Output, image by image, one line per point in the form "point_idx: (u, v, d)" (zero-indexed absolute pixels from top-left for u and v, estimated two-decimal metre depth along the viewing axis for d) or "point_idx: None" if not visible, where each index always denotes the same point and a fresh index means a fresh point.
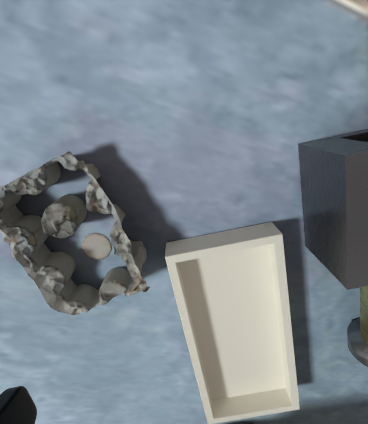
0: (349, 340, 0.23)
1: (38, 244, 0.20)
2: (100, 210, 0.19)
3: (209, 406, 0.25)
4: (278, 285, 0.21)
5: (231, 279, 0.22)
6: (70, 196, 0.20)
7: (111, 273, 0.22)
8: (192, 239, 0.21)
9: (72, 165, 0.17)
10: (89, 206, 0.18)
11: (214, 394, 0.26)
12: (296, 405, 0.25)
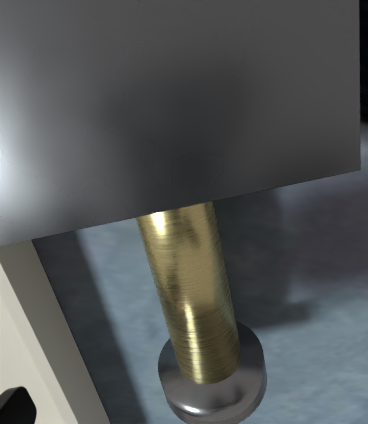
0: None
1: None
2: None
3: None
4: None
5: None
6: None
7: None
8: None
9: None
10: None
11: None
12: None
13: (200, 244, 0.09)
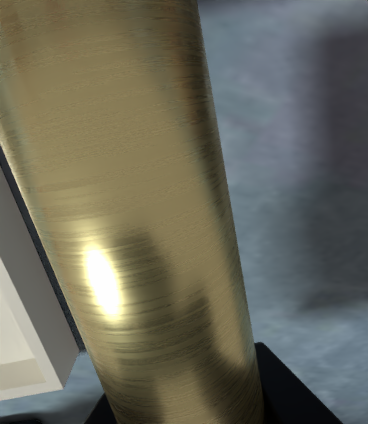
0: None
1: None
2: None
3: None
4: None
5: None
6: None
7: None
8: None
9: None
10: None
11: None
12: (54, 382, 0.13)
13: (217, 392, 0.04)
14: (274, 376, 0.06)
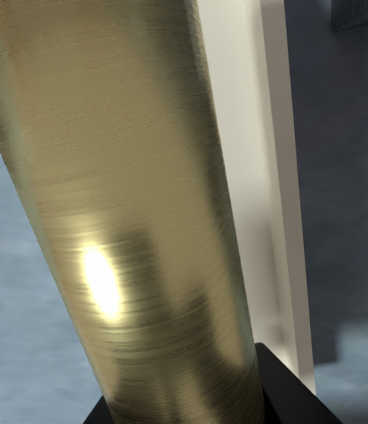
0: None
1: None
2: None
3: None
4: (269, 94, 0.08)
5: None
6: None
7: None
8: None
9: None
10: None
11: None
12: None
13: (217, 393, 0.04)
14: (274, 376, 0.06)
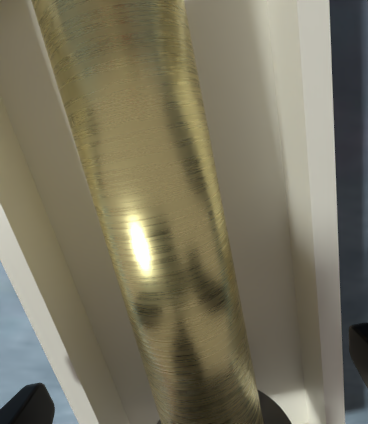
0: None
1: None
2: None
3: None
4: (301, 93, 0.06)
5: None
6: None
7: None
8: None
9: None
10: None
11: None
12: None
13: (208, 291, 0.06)
14: None
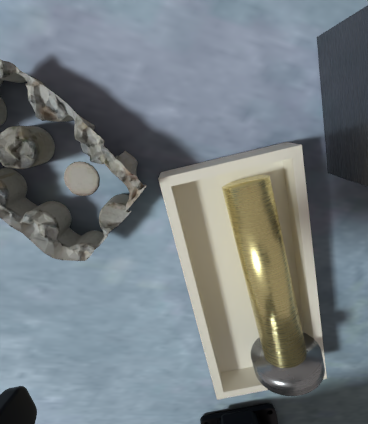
0: (257, 370, 0.19)
1: (11, 191, 0.17)
2: (55, 117, 0.15)
3: (218, 376, 0.20)
4: (298, 215, 0.17)
5: None
6: None
7: (108, 201, 0.18)
8: (192, 165, 0.18)
9: None
10: (38, 113, 0.15)
11: (223, 365, 0.22)
12: None
13: (289, 274, 0.17)
14: None
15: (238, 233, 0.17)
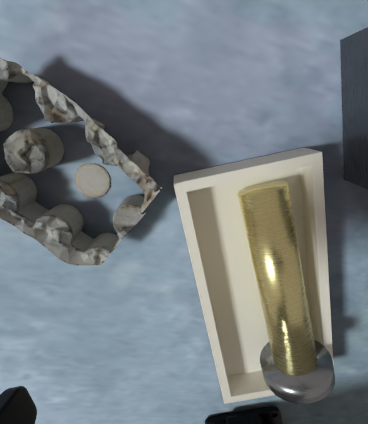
0: (267, 377, 0.18)
1: (22, 196, 0.16)
2: (65, 119, 0.15)
3: (226, 381, 0.20)
4: (314, 223, 0.17)
5: None
6: None
7: (121, 203, 0.17)
8: (206, 169, 0.17)
9: (3, 70, 0.14)
10: (47, 115, 0.14)
11: (230, 369, 0.22)
12: None
13: (303, 283, 0.17)
14: None
15: (253, 241, 0.16)
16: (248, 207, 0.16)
